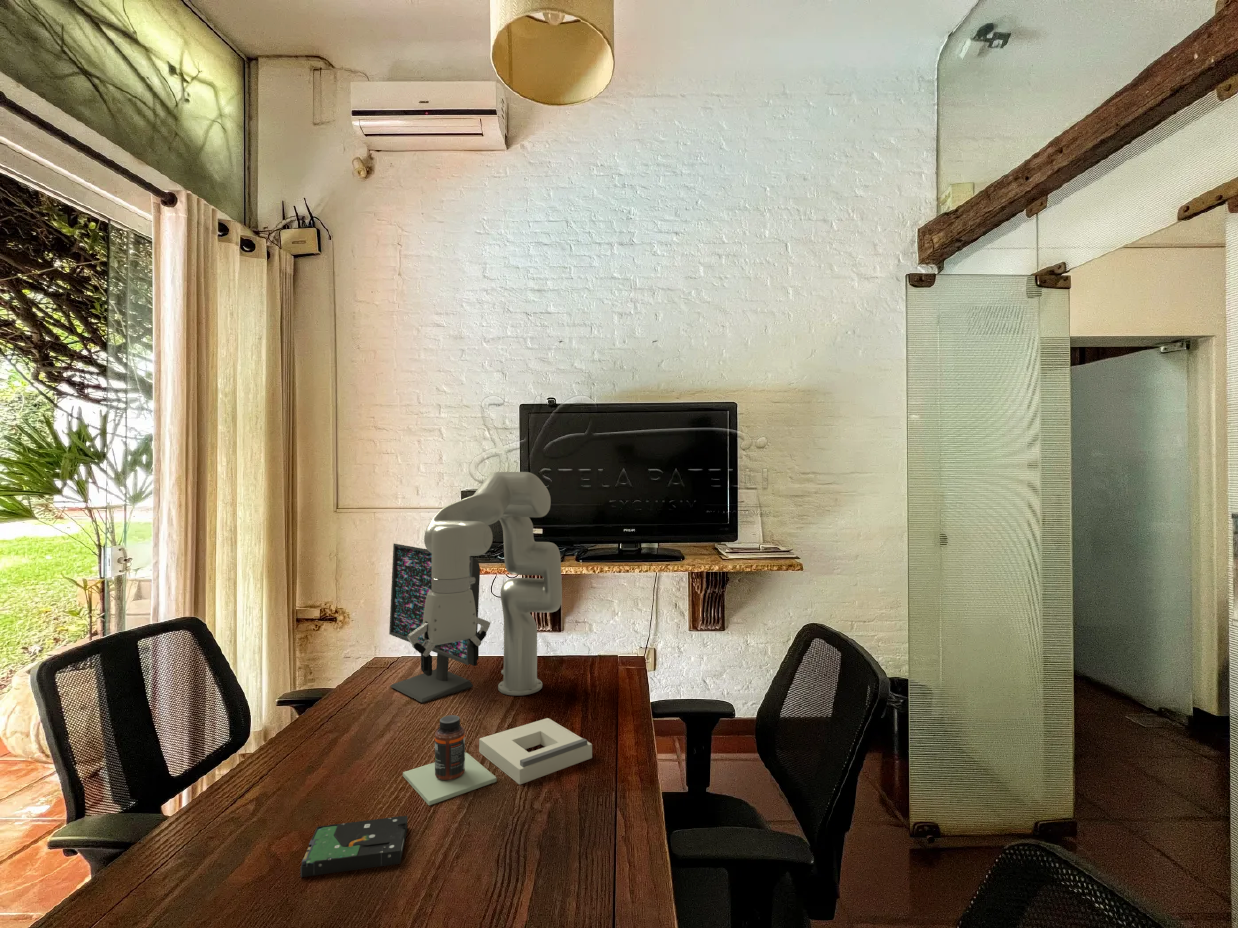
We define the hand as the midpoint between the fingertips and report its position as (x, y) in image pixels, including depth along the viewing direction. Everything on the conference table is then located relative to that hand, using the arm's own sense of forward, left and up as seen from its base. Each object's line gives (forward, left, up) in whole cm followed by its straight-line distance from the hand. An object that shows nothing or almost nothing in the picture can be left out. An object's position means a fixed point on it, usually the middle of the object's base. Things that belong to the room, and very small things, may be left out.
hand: (450, 669), depth 124 cm
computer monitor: (-52, +17, -22) cm, 59 cm away
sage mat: (0, 0, -22) cm, 22 cm away
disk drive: (+13, -22, -23) cm, 34 cm away
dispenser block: (+2, +19, -22) cm, 29 cm away
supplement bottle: (0, 0, -22) cm, 22 cm away
